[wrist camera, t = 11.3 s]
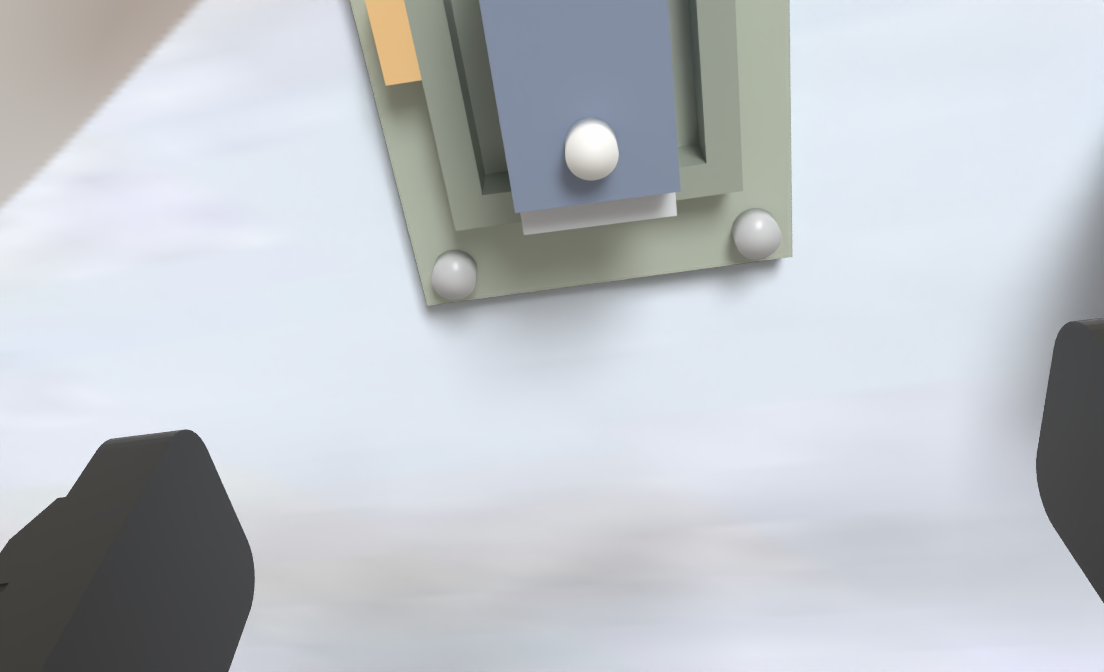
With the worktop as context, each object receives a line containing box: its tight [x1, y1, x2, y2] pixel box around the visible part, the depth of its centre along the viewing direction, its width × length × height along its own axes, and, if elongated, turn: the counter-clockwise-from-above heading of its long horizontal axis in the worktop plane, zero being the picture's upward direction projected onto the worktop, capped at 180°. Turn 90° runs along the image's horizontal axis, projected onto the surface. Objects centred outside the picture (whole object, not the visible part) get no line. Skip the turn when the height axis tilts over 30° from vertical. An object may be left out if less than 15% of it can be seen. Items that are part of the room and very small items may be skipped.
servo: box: [479, 0, 681, 235], centre depth 23 cm, size 4×10×7 cm, turn 8°
